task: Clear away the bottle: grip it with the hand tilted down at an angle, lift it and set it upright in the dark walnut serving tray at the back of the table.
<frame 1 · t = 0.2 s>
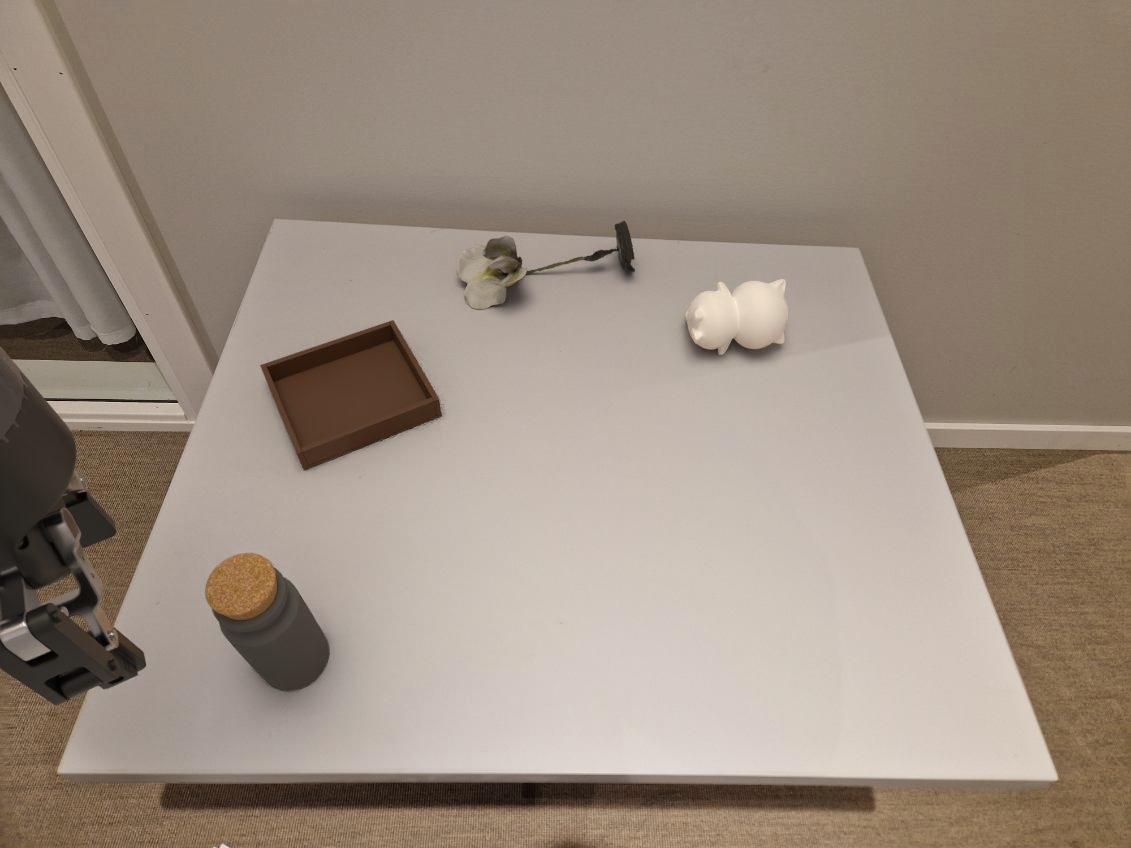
hand: (110, 600, 39), 25 cm above the table, tool pointing down, fingers open, 8 cm apart
artificial flower: (547, 284, 93), on the table
cat figurine: (726, 336, 88), on the table
bottle: (295, 658, 63), on the table
tray: (353, 399, 80), on the table
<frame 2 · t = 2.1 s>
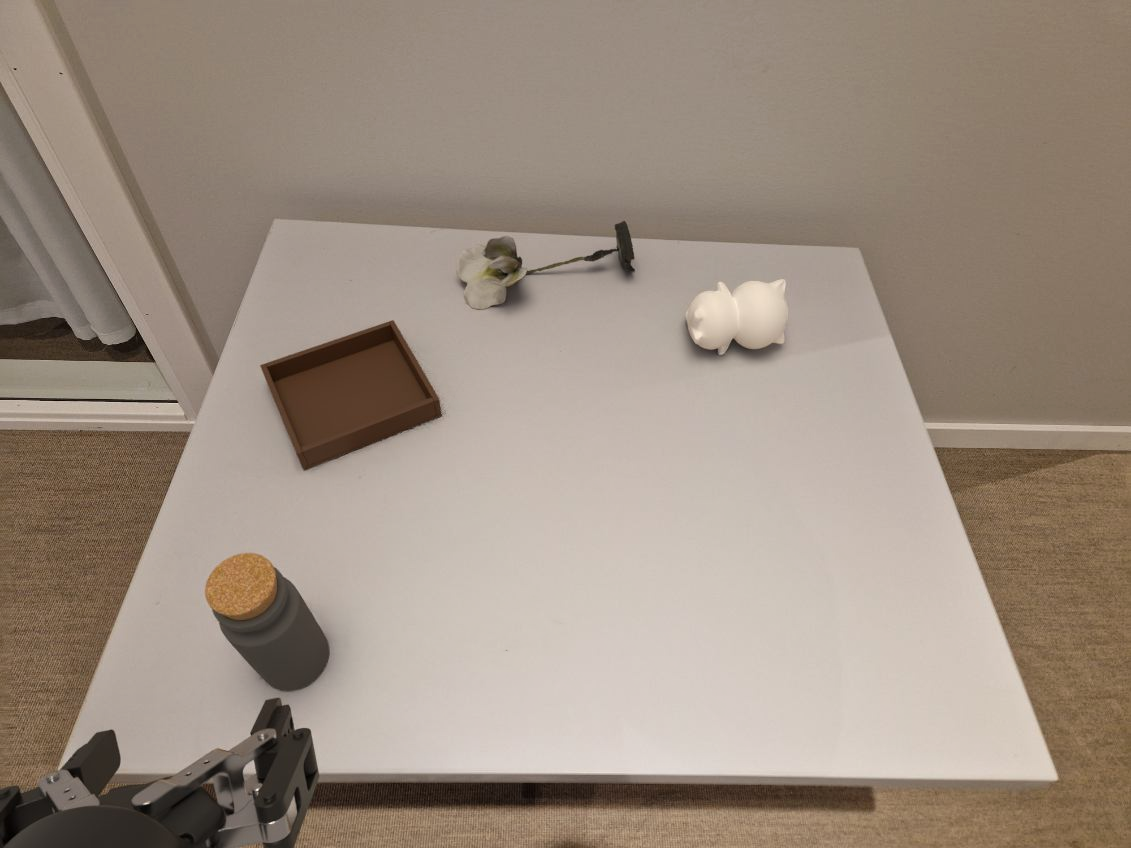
hand: (195, 729, 39), 21 cm above the table, tool tilted 45°, fingers open, 8 cm apart
nothing on the table moved.
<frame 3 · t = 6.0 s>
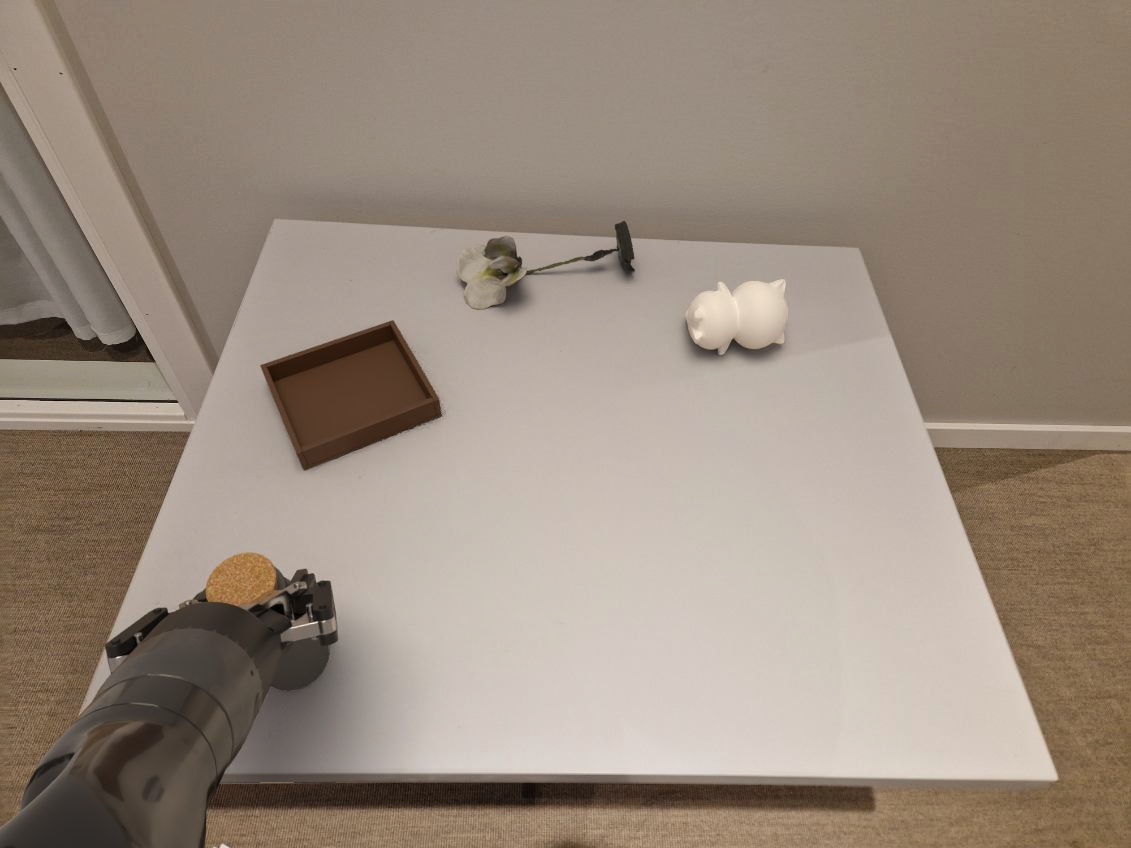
hand: (261, 588, 55), 10 cm above the table, tool tilted 45°, fingers closed on bottle, 5 cm apart
bottle: (295, 658, 63), on the table, touching gripper
everything else where it was.
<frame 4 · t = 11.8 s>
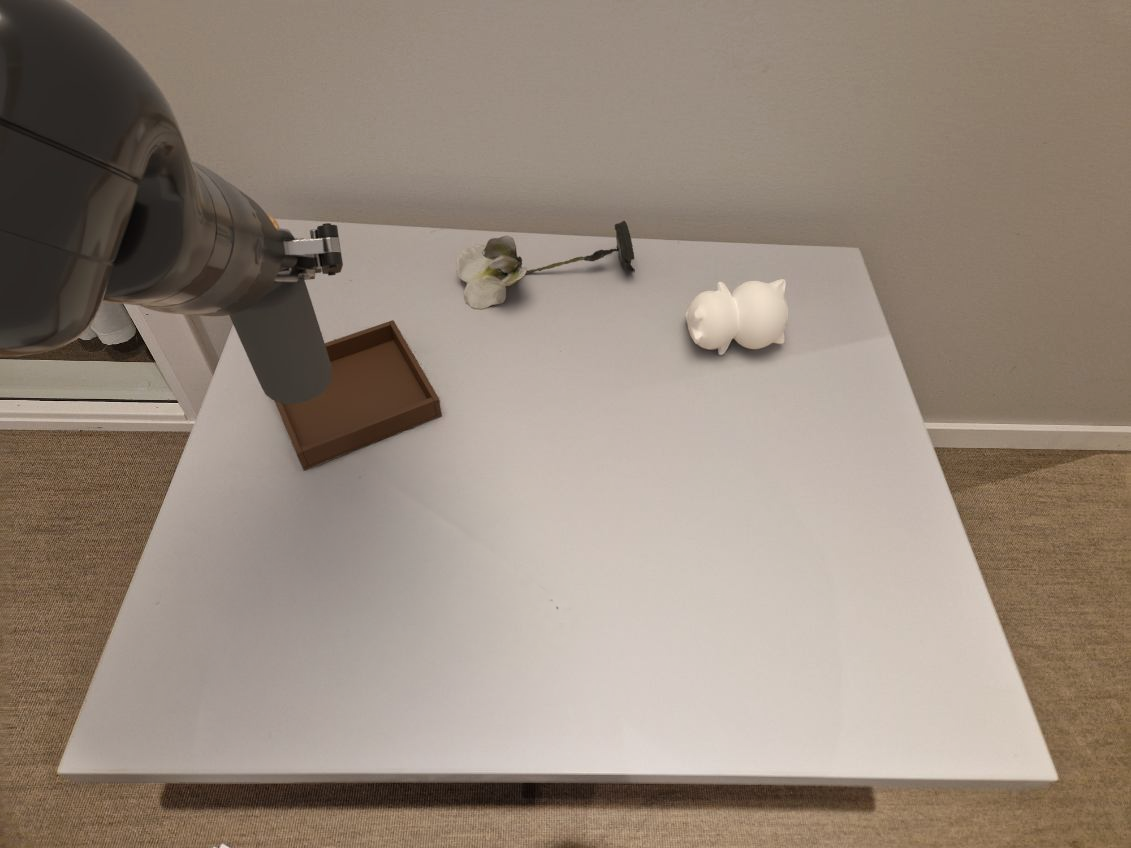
hand: (263, 269, 54), 26 cm above the table, tool tilted 45°, fingers closed on bottle, 5 cm apart
bottle: (298, 379, 61), point 16 cm above the table, touching gripper
everything else where it was.
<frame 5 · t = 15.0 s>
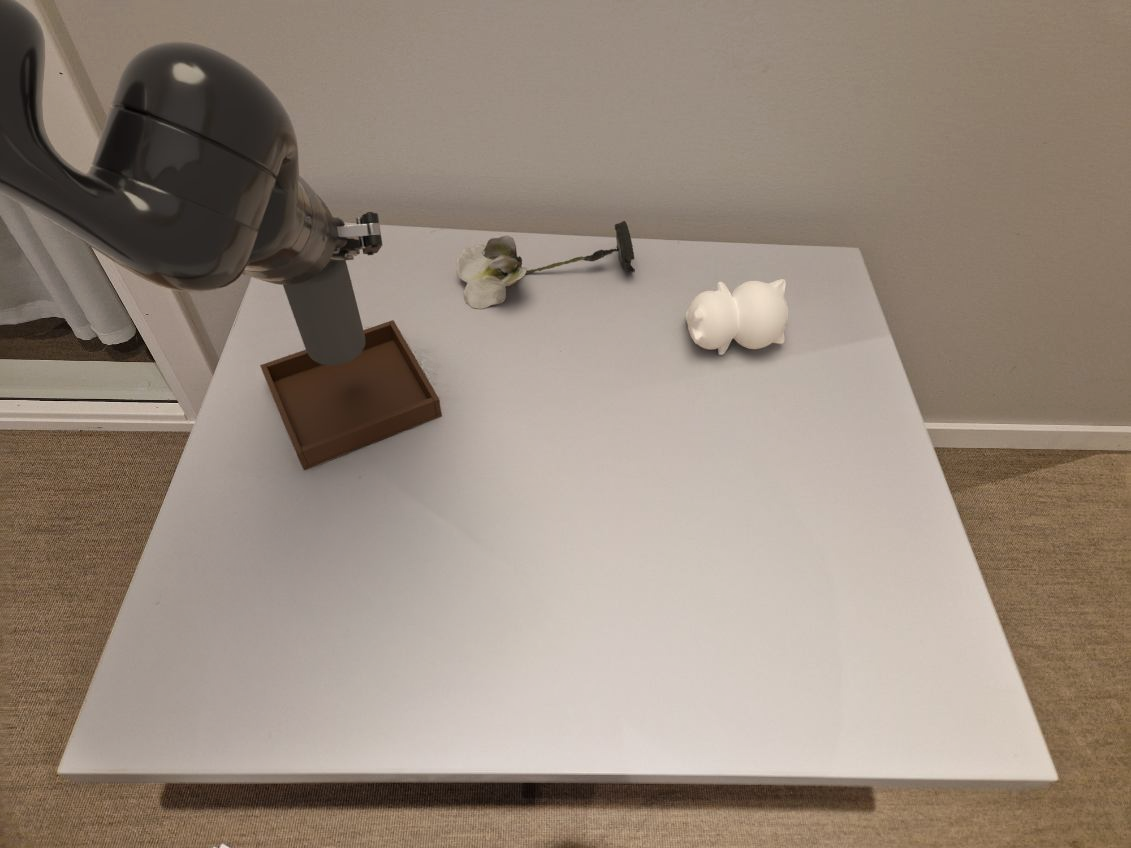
hand: (311, 251, 66), 19 cm above the table, tool tilted 45°, fingers closed on bottle, 5 cm apart
bottle: (336, 346, 73), point 9 cm above the table, touching gripper
everything else where it was.
when the fingers open (11 cm above the table, at t = 17.8 s): bottle stays where it is, resting on tray.
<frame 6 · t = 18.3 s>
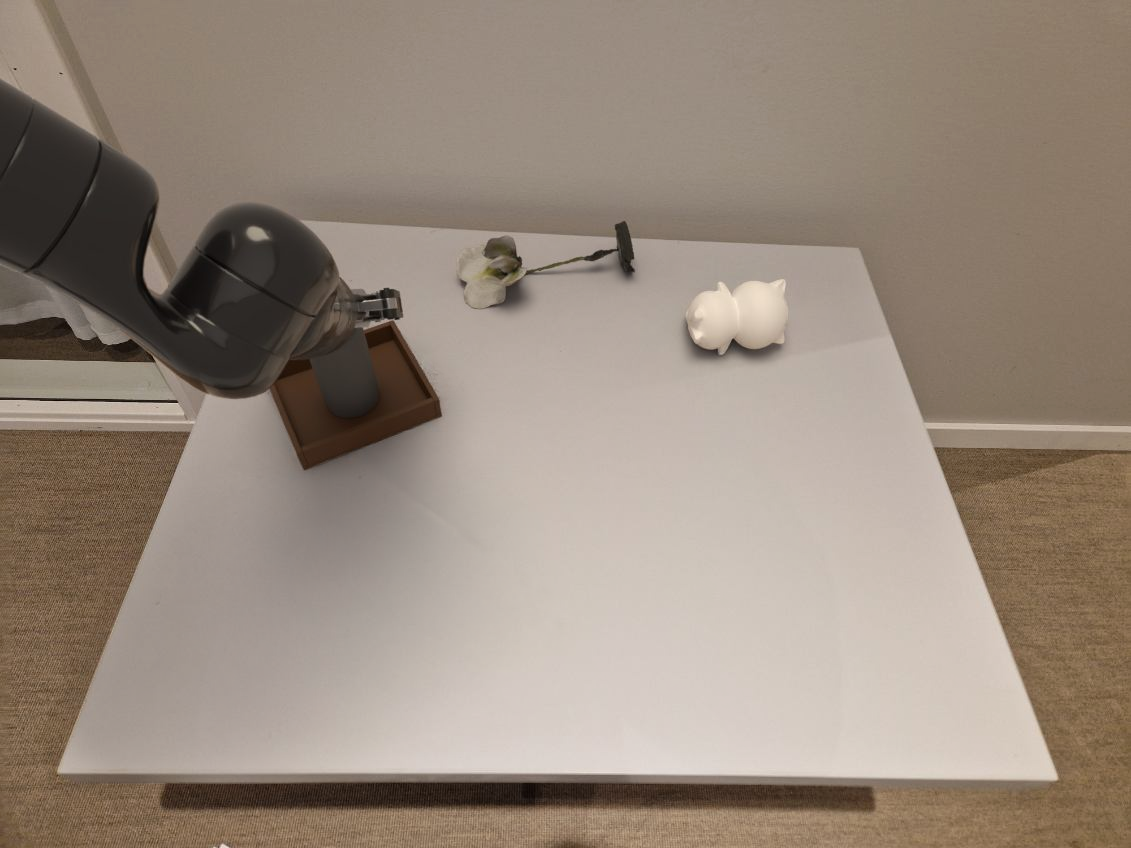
hand: (330, 314, 71), 12 cm above the table, tool tilted 45°, fingers open, 8 cm apart
bottle: (353, 398, 80), resting on tray
everything else where it was.
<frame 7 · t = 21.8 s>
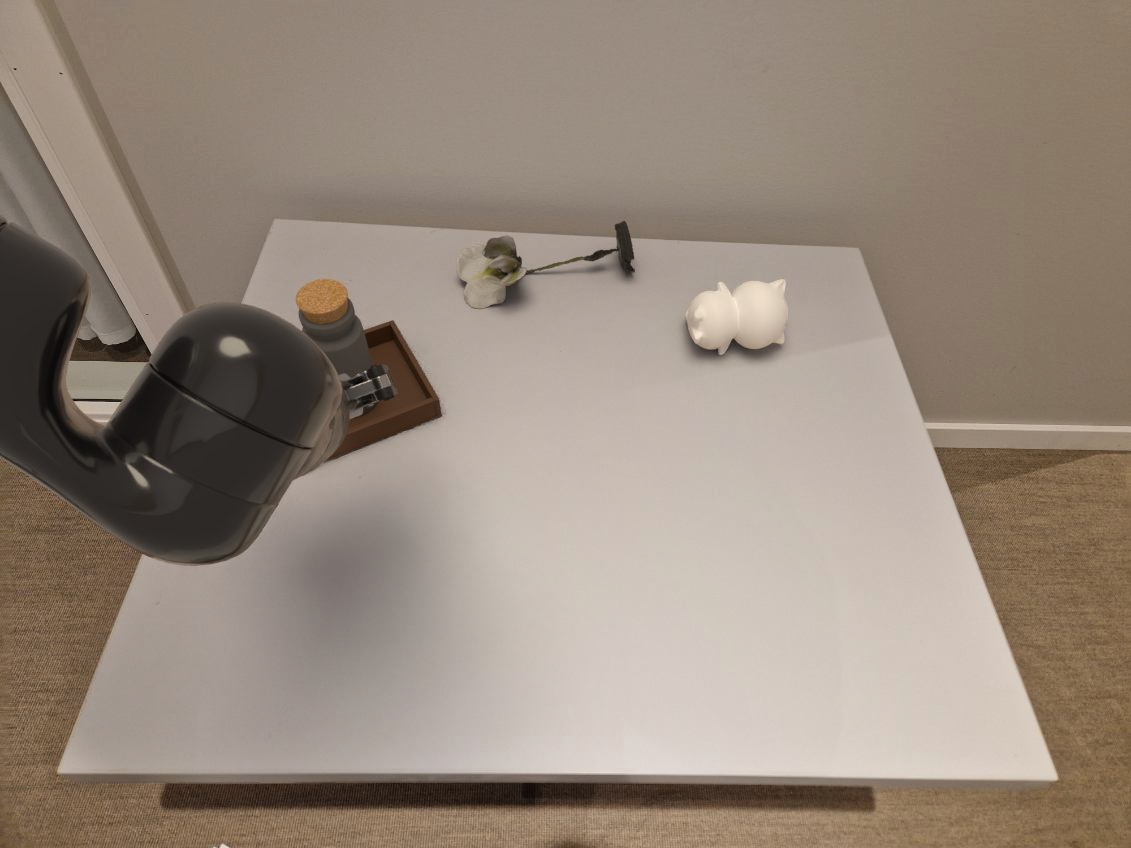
hand: (313, 410, 61), 14 cm above the table, tool tilted 40°, fingers open, 8 cm apart
nothing on the table moved.
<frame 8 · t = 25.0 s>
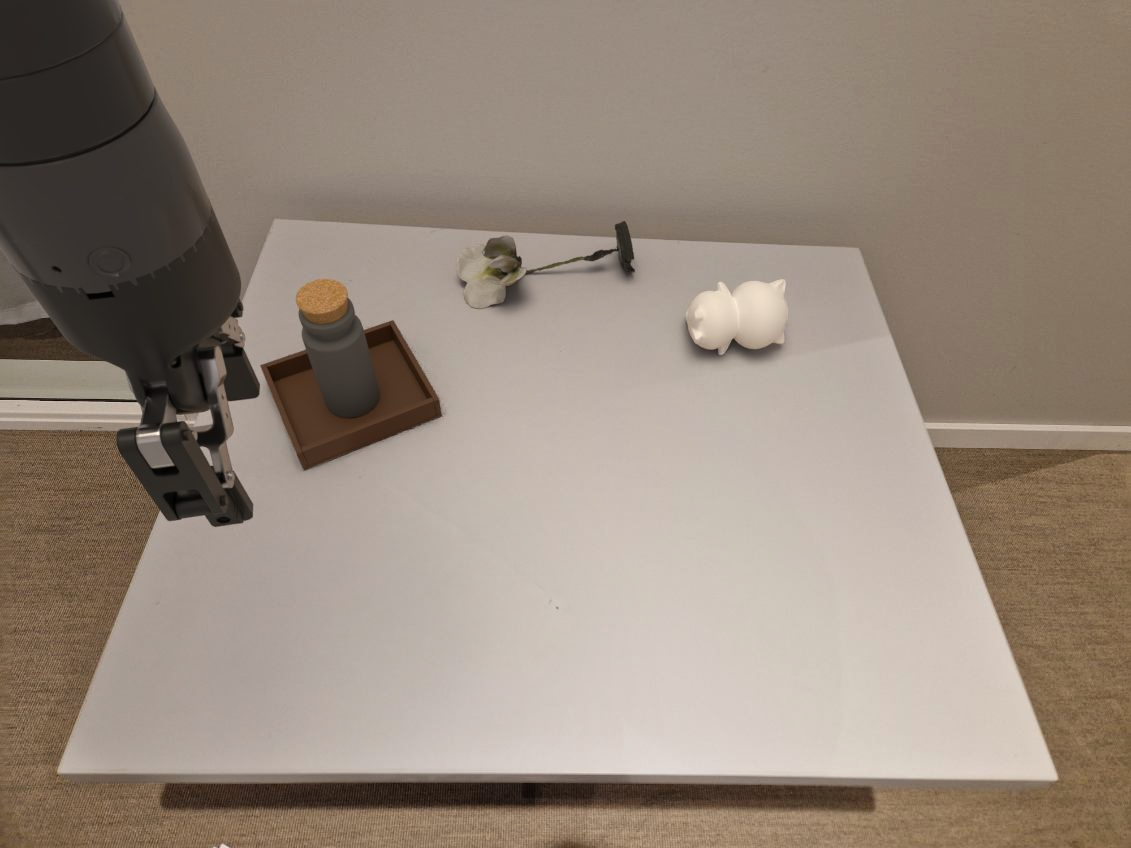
hand: (238, 453, 41), 28 cm above the table, tool pointing down, fingers open, 8 cm apart
nothing on the table moved.
at the end: bottle inside the target area in the tray (0.2 cm from its centre), point 0.3 cm above the tray's base; bottle tilted 0°; the gripper is holding nothing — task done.
